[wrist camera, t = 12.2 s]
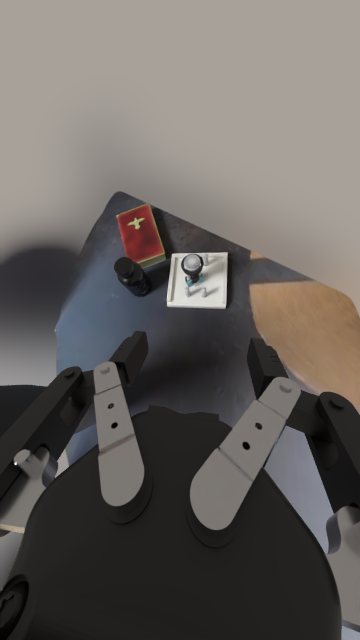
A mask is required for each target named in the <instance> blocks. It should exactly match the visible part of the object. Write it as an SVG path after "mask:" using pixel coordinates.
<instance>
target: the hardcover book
mask: <svg viewBox="0 0 360 640" xmlns="http://www.w3.org/2000/svg"><path fill="white" fill-rule="evenodd" d="M116 217H117V221H118V225H119V229H120V234H121V238H122V242H123V246H124V251H125V255H126V257H128V258H130V259H131V260H132V261H133V262H136V263H138V264H139V265H140V266H141V267H142V269H143V268H145V267H148V266H151V265H154V264H157V263H159V262H162V261H165V260H166V257H165V251H164V248H163V244H162V241H161V238H160V235H159V232H158V229H157V226H156V223H155V220H154V217H153V213H152V210H151V207H150V204H149V203H147V204H144V205H142V206H139V207H137V208H134V209H131V210H129V211H126V212H124V213H121V214H118V215H117V216H116Z"/></svg>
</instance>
